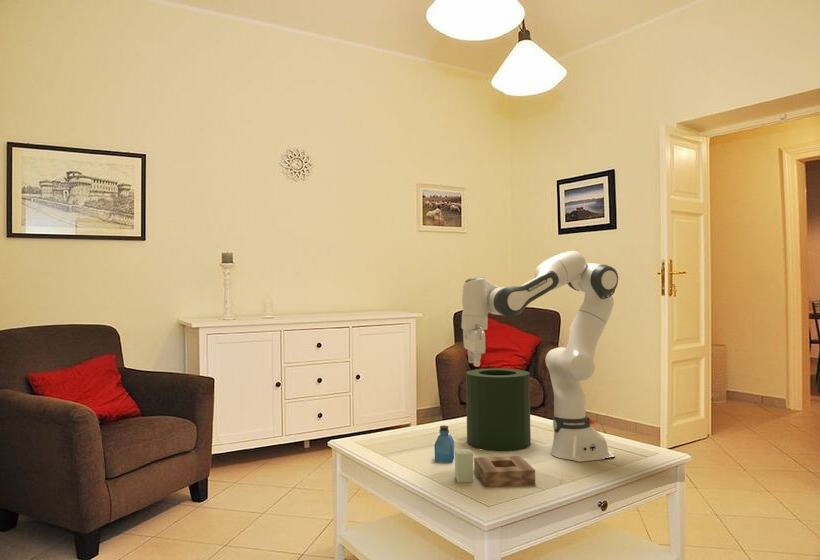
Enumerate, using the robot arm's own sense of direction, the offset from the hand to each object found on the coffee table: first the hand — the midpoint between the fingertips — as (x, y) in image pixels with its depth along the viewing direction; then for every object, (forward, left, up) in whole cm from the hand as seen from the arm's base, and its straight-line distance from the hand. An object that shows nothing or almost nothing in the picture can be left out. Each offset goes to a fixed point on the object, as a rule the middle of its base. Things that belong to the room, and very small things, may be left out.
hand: (474, 364), depth 195 cm
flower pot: (-16, -32, -36) cm, 50 cm away
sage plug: (+6, +10, -36) cm, 38 cm away
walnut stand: (-7, +10, -36) cm, 38 cm away
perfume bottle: (+9, -12, -36) cm, 39 cm away
